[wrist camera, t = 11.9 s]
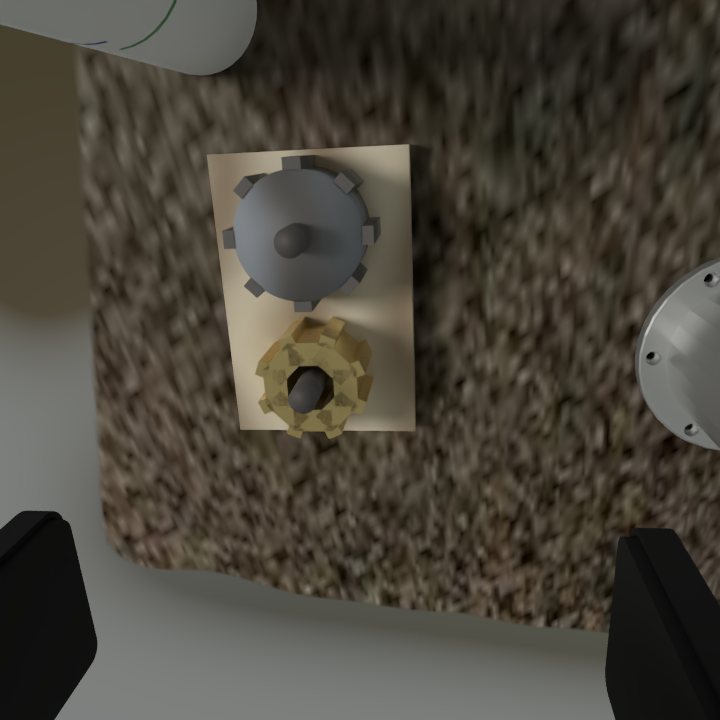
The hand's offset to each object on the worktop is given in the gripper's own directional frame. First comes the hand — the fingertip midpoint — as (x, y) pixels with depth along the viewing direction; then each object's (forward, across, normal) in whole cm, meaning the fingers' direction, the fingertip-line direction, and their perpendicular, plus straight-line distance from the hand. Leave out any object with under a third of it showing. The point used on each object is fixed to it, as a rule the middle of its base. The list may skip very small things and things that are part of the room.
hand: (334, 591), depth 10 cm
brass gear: (+29, +6, +6) cm, 30 cm away
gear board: (+30, +6, +2) cm, 31 cm away
